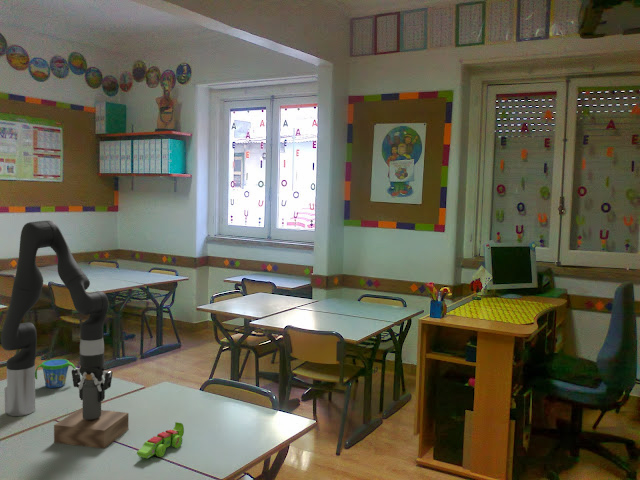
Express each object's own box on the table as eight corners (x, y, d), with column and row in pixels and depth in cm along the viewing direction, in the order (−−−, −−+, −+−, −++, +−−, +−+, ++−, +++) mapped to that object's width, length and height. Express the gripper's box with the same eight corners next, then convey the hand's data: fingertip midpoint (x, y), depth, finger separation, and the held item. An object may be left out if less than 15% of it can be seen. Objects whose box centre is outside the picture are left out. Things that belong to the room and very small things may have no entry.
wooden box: (54, 442, 180) (53, 424, 180) (81, 424, 195) (81, 408, 195) (104, 448, 177) (104, 430, 177) (128, 429, 192) (128, 412, 192)
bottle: (94, 420, 182) (94, 376, 181) (78, 418, 183) (78, 374, 182) (104, 413, 188) (104, 371, 187) (89, 412, 189) (89, 369, 188)
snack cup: (78, 380, 240) (78, 358, 239) (72, 389, 230) (72, 365, 229) (39, 382, 237) (39, 359, 236) (31, 390, 227) (31, 366, 226)
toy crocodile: (147, 465, 167) (147, 446, 167) (131, 460, 170) (131, 441, 170) (190, 441, 185) (190, 423, 184) (175, 436, 188) (175, 419, 187)
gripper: (65, 352, 182) (65, 402, 183) (105, 356, 179) (105, 406, 180) (79, 346, 189) (79, 394, 190) (117, 350, 186) (117, 398, 188)
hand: (92, 400), depth 185 cm, fingers closed on bottle, 6 cm apart
